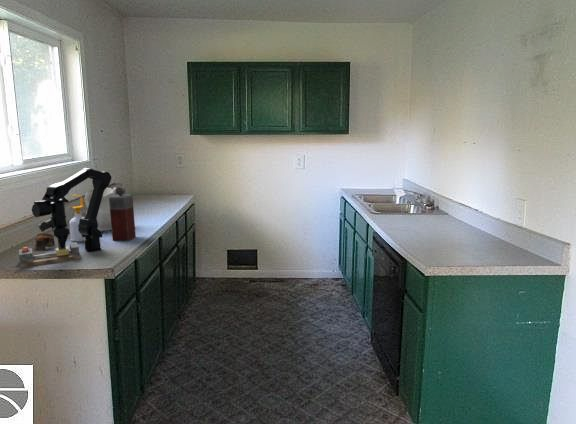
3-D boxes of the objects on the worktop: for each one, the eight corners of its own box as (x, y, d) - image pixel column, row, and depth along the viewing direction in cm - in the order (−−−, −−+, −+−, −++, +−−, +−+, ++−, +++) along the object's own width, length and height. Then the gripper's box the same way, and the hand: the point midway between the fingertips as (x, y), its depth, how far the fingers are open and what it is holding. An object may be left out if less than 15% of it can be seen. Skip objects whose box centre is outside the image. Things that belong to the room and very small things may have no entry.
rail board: (78, 252, 214) (77, 241, 213) (81, 258, 205) (80, 247, 204) (20, 261, 202) (18, 249, 201) (20, 267, 193) (19, 255, 192)
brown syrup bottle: (137, 235, 247) (133, 185, 241) (128, 240, 236) (124, 188, 230) (122, 235, 248) (117, 185, 242) (112, 240, 237) (107, 188, 231)
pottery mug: (28, 250, 222) (31, 234, 225) (46, 254, 230) (49, 238, 233) (43, 246, 217) (46, 230, 219) (61, 250, 225) (64, 234, 227)
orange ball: (28, 252, 200) (28, 246, 199) (28, 253, 198) (28, 247, 197) (22, 252, 198) (21, 247, 198) (22, 254, 196) (21, 248, 196)
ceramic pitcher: (107, 236, 251) (106, 192, 246) (76, 232, 255) (75, 188, 250) (128, 227, 272) (128, 187, 267) (99, 224, 275) (98, 184, 270)
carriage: (68, 252, 209) (66, 236, 208) (69, 254, 205) (67, 238, 203) (56, 253, 207) (54, 237, 205) (57, 256, 202) (55, 239, 201)
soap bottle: (69, 239, 240) (64, 194, 235) (87, 236, 246) (82, 192, 241) (73, 242, 233) (69, 196, 229) (92, 239, 239) (87, 194, 234)
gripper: (37, 211, 206) (41, 244, 209) (38, 218, 190) (43, 254, 193) (63, 209, 212) (67, 241, 215) (67, 215, 196) (71, 250, 199)
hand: (61, 246), depth 205 cm, fingers open, 6 cm apart
